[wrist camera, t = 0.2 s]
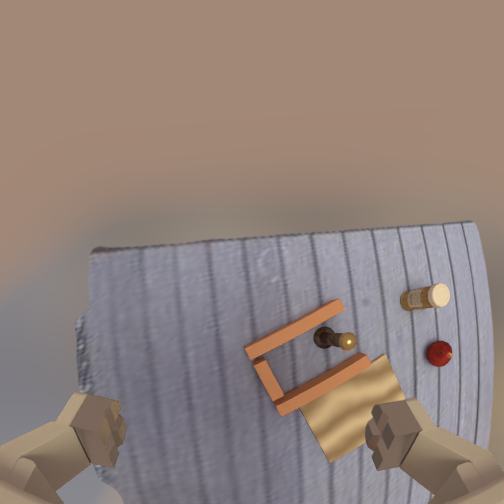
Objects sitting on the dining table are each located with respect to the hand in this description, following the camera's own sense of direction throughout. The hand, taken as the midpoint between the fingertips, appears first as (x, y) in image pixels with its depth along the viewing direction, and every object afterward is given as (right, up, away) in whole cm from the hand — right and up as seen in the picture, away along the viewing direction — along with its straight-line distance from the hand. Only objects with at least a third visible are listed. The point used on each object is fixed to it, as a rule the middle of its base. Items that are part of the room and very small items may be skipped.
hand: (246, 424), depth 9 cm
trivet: (+22, -28, +50) cm, 61 cm away
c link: (+11, -15, +52) cm, 56 cm away
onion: (+41, -18, +53) cm, 70 cm away
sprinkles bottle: (+35, -6, +56) cm, 66 cm away
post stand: (+15, -12, +53) cm, 56 cm away
